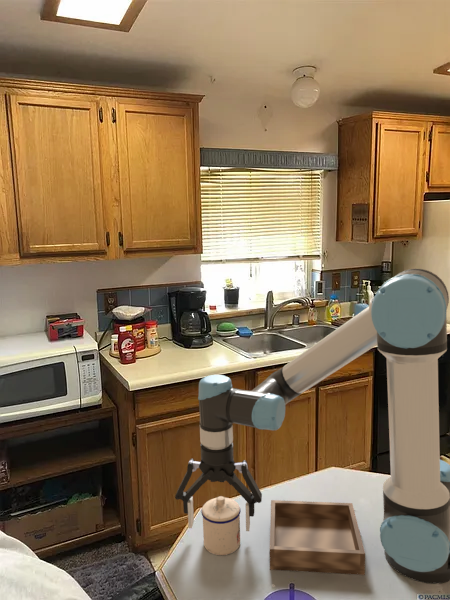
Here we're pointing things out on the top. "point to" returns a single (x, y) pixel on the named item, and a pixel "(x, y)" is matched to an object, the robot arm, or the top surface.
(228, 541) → the teacup with lid
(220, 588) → the top surface
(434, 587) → the top surface
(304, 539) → the walnut box
